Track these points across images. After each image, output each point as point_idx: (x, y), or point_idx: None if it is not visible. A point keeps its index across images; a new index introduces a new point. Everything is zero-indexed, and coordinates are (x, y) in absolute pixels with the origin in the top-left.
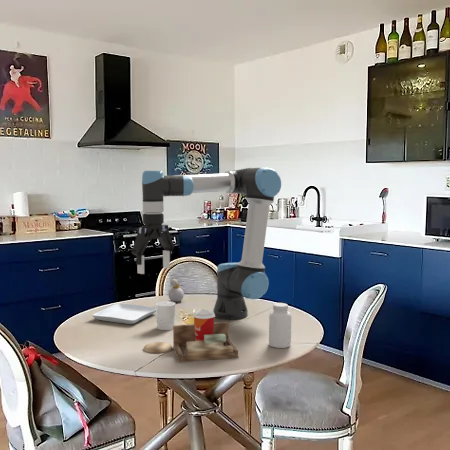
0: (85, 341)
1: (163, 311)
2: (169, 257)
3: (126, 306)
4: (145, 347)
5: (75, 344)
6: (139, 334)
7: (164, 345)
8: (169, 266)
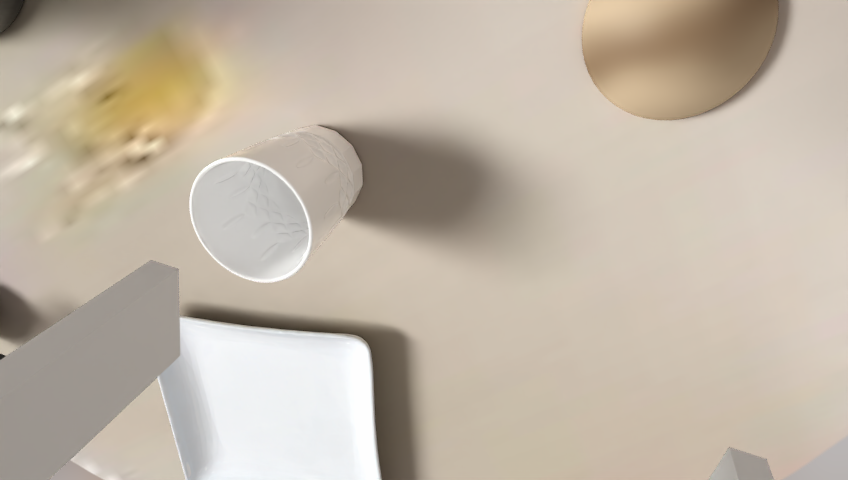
0: (665, 428)
1: (321, 195)
2: (3, 362)
3: (193, 450)
4: (710, 98)
5: (722, 449)
6: (473, 247)
7: (638, 3)
8: (139, 274)
